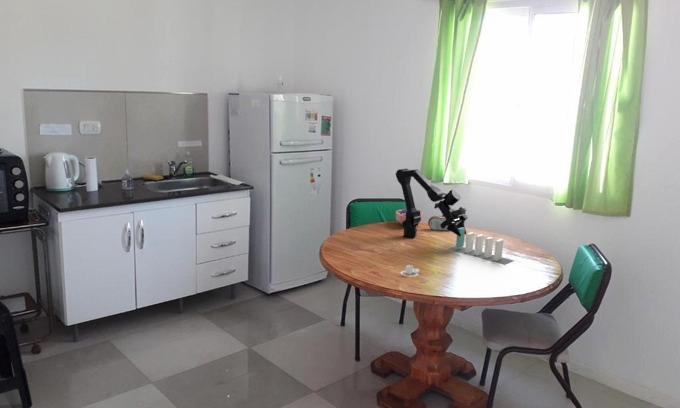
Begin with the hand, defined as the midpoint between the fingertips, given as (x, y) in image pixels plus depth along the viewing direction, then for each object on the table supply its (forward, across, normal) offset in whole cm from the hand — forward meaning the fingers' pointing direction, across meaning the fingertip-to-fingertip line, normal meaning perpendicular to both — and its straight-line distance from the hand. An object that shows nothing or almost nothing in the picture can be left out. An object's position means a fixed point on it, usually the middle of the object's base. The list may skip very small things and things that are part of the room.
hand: (463, 235), depth 275 cm
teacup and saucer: (+11, -49, +2) cm, 50 cm away
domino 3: (+16, 0, -5) cm, 17 cm away
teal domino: (+4, 0, +6) cm, 7 cm away
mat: (+14, 0, -2) cm, 14 cm away
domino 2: (+13, 0, -1) cm, 13 cm away
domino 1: (+9, 0, +3) cm, 9 cm away
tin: (-16, +27, +28) cm, 42 cm away
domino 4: (+20, 0, -9) cm, 22 cm away
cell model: (-29, +20, +42) cm, 55 cm away
